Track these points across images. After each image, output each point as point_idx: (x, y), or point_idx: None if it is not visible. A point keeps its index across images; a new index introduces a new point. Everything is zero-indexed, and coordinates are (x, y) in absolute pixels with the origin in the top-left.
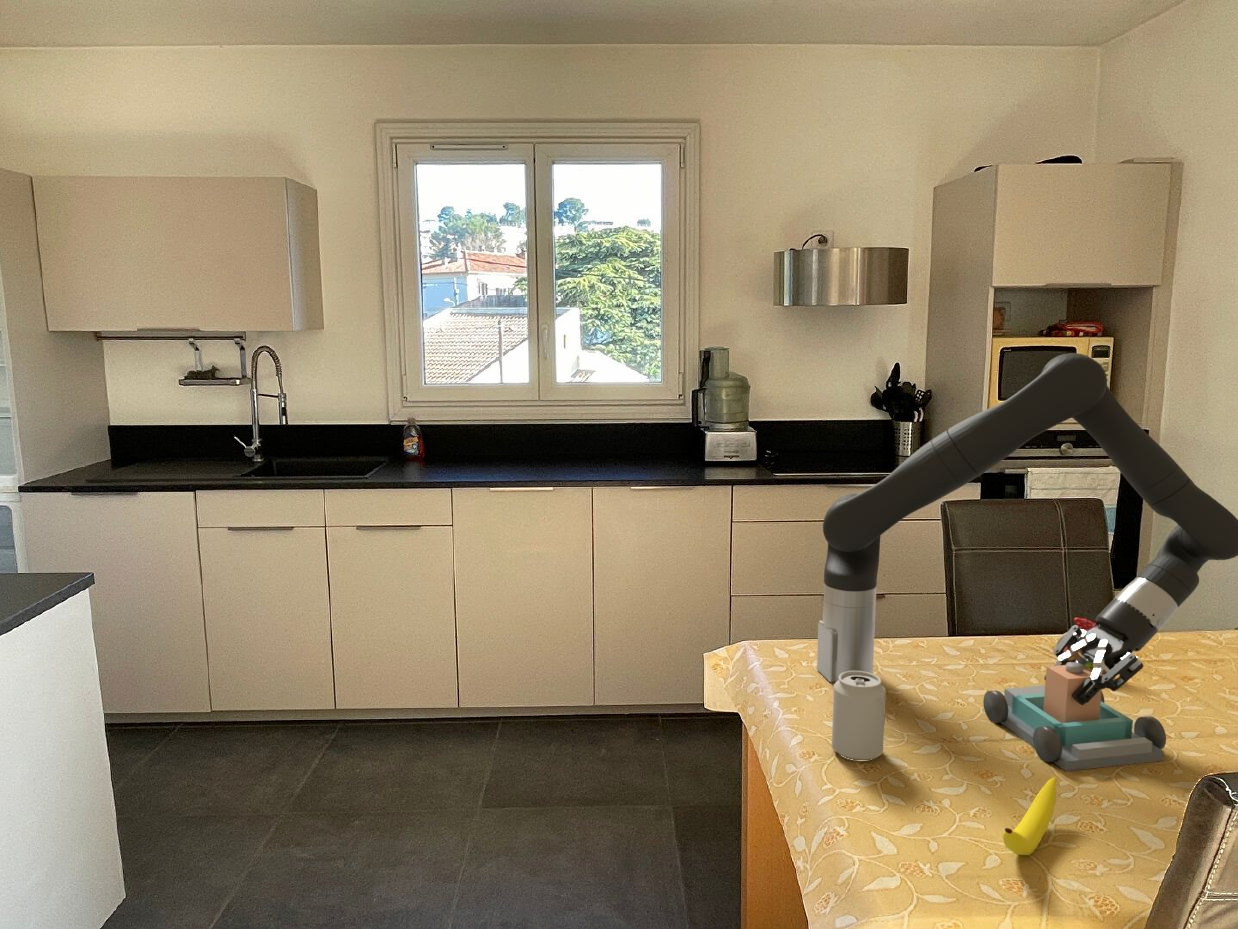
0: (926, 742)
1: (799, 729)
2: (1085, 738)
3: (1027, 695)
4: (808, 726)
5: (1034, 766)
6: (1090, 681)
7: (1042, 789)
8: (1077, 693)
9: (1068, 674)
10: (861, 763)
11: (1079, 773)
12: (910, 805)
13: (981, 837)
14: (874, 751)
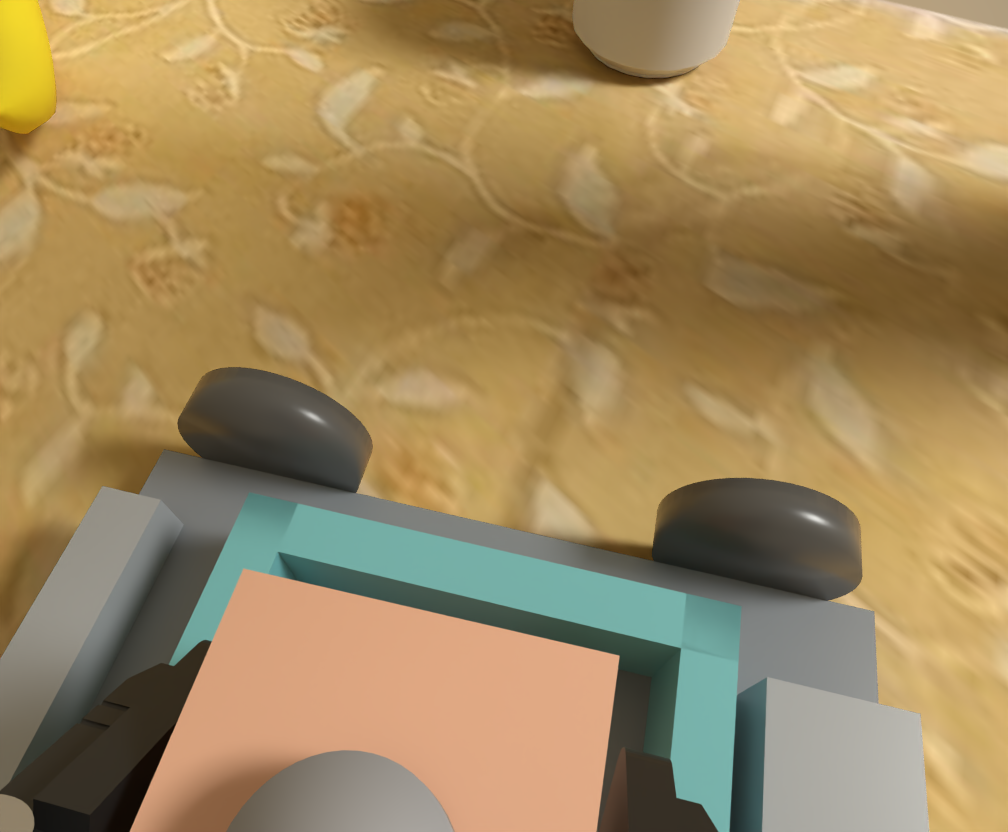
0: (634, 211)
1: (830, 9)
2: None
3: (718, 715)
4: (845, 30)
5: None
6: (48, 798)
7: (13, 75)
8: (188, 658)
9: (321, 690)
10: None
11: None
12: (347, 3)
13: (140, 31)
14: (575, 2)
